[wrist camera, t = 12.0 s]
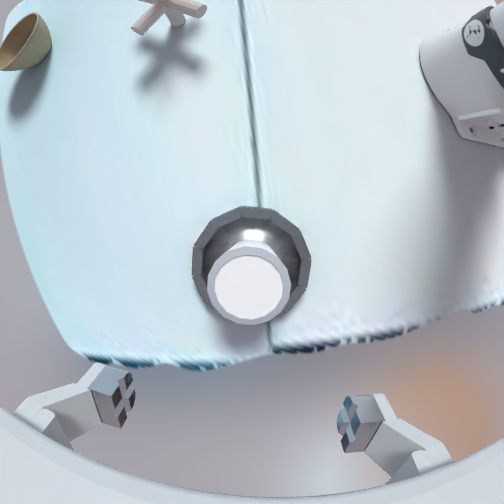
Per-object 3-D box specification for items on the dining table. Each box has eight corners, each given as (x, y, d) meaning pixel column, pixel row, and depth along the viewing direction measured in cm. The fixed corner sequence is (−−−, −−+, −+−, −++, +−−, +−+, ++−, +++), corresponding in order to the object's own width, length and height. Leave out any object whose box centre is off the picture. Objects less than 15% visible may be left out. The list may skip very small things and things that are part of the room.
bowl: (314, 214, 28) (317, 215, 26) (297, 318, 31) (299, 326, 29) (200, 201, 28) (196, 202, 26) (194, 307, 31) (190, 314, 29)
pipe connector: (182, 63, 24) (153, 18, 15) (126, 39, 23) (90, 2, 14) (235, 9, 23) (227, -42, 13) (176, -10, 22) (155, -53, 12)
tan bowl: (62, 17, 21) (40, 1, 14) (64, 53, 23) (36, 37, 16) (22, 52, 22) (-3, 42, 15) (21, 91, 24) (-8, 82, 17)
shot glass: (228, 224, 28) (219, 235, 21) (292, 244, 28) (303, 261, 21) (211, 285, 29) (197, 312, 22) (271, 303, 30) (275, 335, 23)
